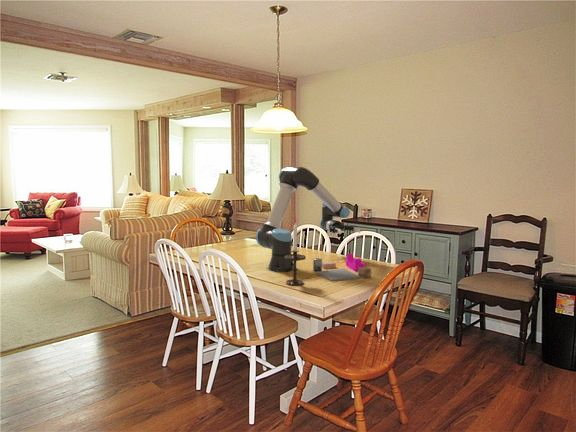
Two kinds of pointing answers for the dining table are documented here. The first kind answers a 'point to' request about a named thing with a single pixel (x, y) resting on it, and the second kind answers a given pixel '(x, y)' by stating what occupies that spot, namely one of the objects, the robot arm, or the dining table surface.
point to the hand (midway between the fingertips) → (350, 231)
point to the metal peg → (317, 264)
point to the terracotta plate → (328, 265)
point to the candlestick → (294, 258)
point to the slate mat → (338, 275)
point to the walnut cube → (364, 272)
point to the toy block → (353, 262)
